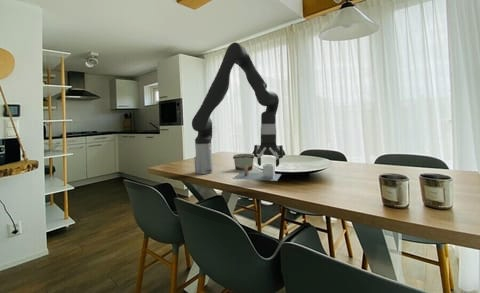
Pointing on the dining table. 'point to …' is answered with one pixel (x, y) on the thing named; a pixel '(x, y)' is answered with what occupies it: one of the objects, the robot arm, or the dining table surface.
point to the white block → (268, 170)
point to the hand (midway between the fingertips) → (268, 166)
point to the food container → (243, 161)
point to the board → (254, 176)
